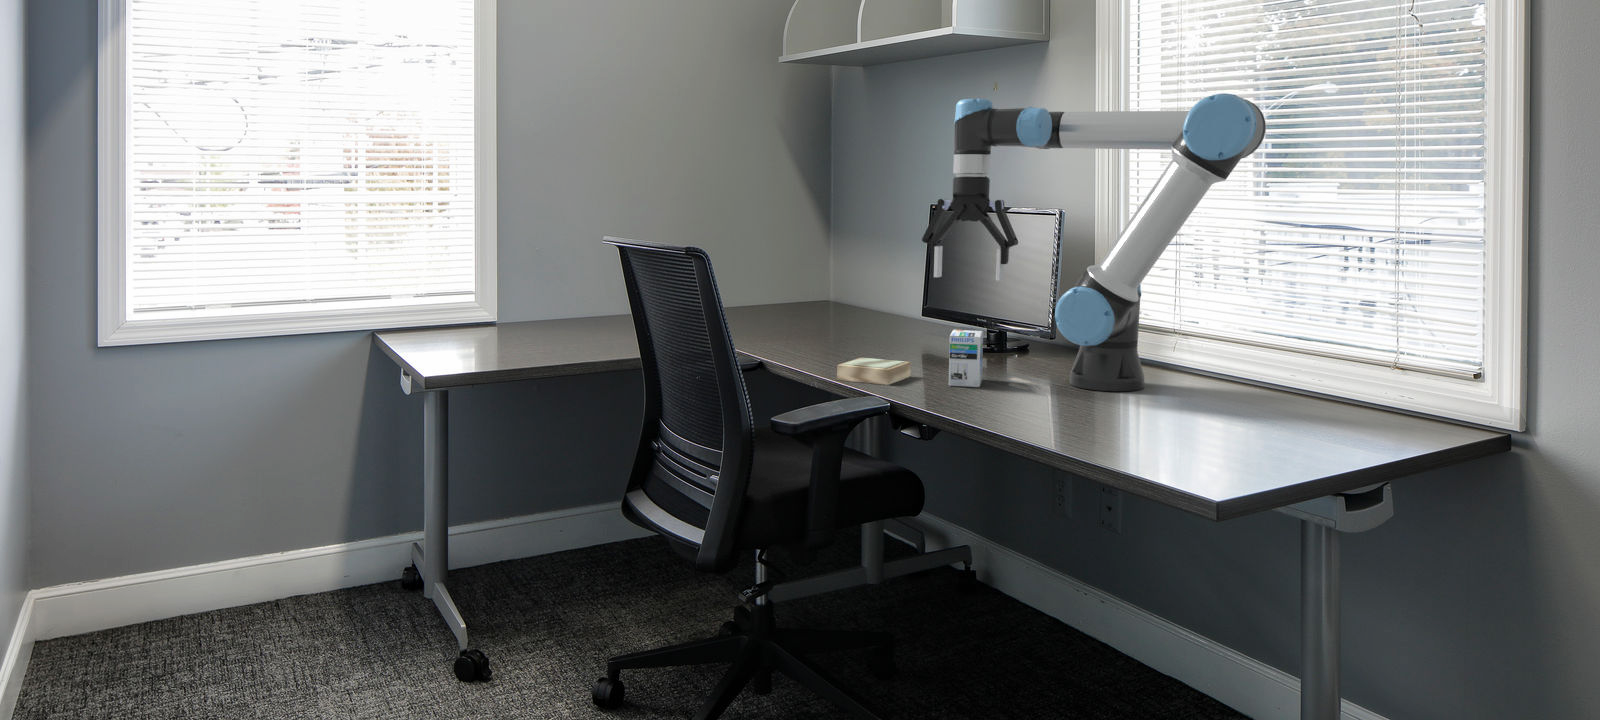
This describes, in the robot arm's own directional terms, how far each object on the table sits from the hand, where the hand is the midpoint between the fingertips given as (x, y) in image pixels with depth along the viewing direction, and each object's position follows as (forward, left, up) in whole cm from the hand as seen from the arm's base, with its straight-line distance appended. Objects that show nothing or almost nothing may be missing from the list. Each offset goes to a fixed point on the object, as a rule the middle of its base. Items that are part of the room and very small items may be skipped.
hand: (968, 278), depth 235 cm
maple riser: (+19, +5, -22) cm, 30 cm away
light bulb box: (0, 0, -22) cm, 22 cm away
